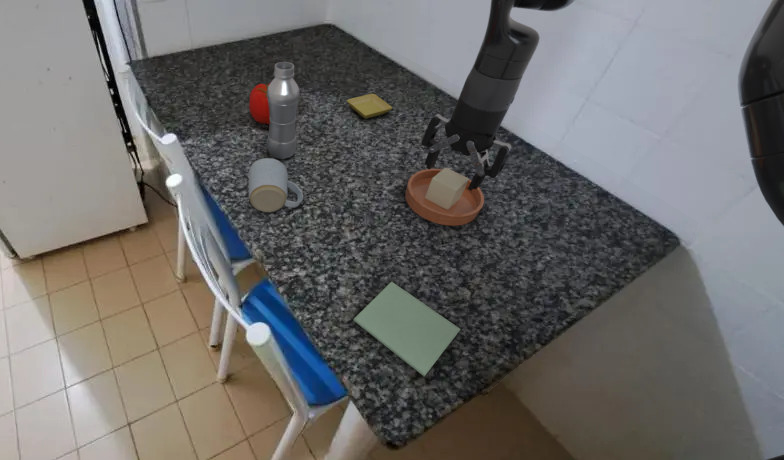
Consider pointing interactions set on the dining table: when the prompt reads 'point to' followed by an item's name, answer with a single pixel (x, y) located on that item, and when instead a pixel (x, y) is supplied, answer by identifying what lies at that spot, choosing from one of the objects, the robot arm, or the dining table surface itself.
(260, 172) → the ceramic mug
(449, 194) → the block
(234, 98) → the dining table surface
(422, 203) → the terracotta dish
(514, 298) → the dining table surface
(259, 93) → the tomato
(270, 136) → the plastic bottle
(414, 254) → the dining table surface
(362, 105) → the saucer
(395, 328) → the mat
